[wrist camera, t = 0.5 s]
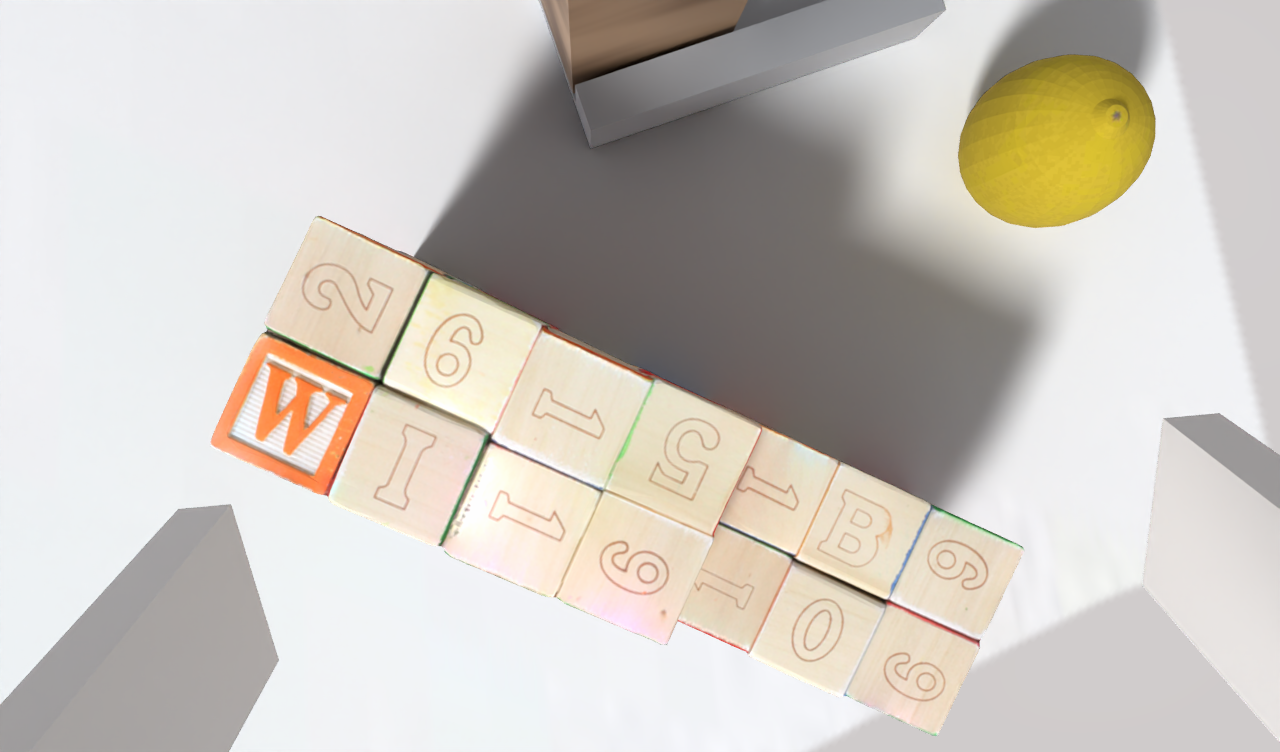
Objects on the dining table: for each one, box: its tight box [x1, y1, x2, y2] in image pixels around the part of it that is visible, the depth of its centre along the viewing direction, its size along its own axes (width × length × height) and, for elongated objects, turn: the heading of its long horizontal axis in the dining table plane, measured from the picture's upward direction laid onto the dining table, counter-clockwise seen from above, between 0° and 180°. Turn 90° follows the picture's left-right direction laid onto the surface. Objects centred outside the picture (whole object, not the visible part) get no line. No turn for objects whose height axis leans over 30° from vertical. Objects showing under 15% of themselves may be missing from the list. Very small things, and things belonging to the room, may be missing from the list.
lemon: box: [958, 55, 1155, 228], centre depth 31 cm, size 6×6×8 cm
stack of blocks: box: [210, 216, 1024, 736], centre depth 29 cm, size 21×6×12 cm, turn 65°
